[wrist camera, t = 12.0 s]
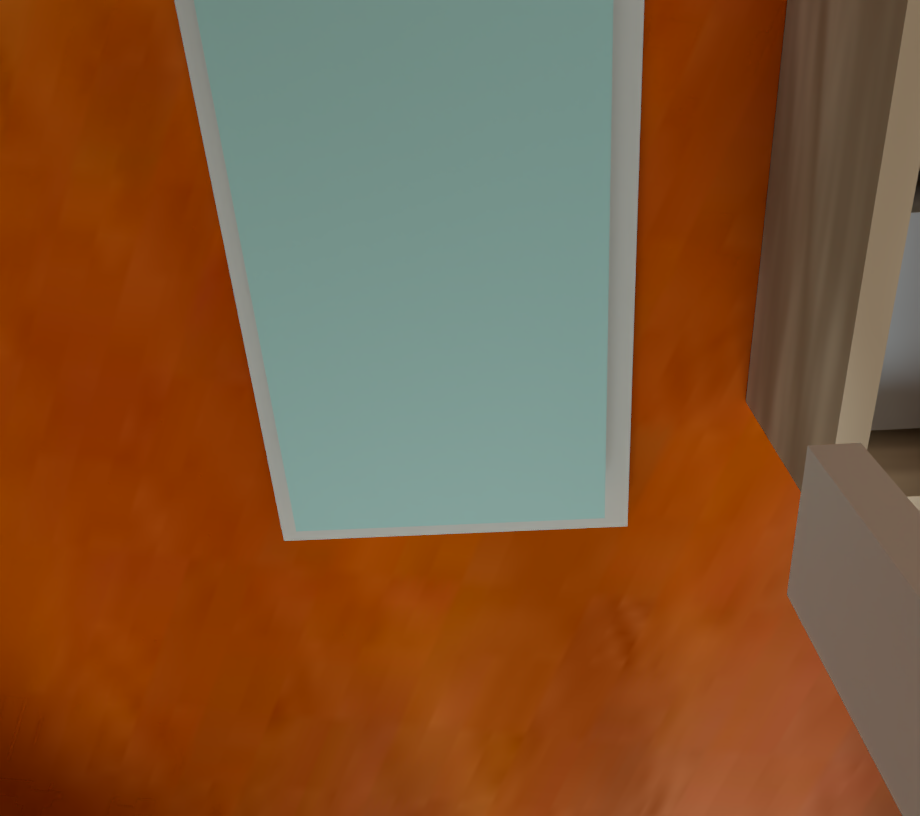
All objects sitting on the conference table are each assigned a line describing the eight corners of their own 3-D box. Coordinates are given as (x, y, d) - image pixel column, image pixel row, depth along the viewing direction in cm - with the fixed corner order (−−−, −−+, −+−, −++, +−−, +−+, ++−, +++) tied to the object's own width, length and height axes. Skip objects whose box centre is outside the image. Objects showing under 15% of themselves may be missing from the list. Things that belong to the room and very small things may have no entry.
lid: (305, 503, 29) (296, 531, 27) (201, -64, 21) (180, -66, 19) (598, 490, 28) (604, 518, 27) (605, -96, 20) (614, -100, 19)
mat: (290, 520, 31) (284, 540, 30) (164, -126, 21) (148, -131, 20) (622, 506, 30) (627, 526, 29) (641, -165, 21) (650, -172, 20)
